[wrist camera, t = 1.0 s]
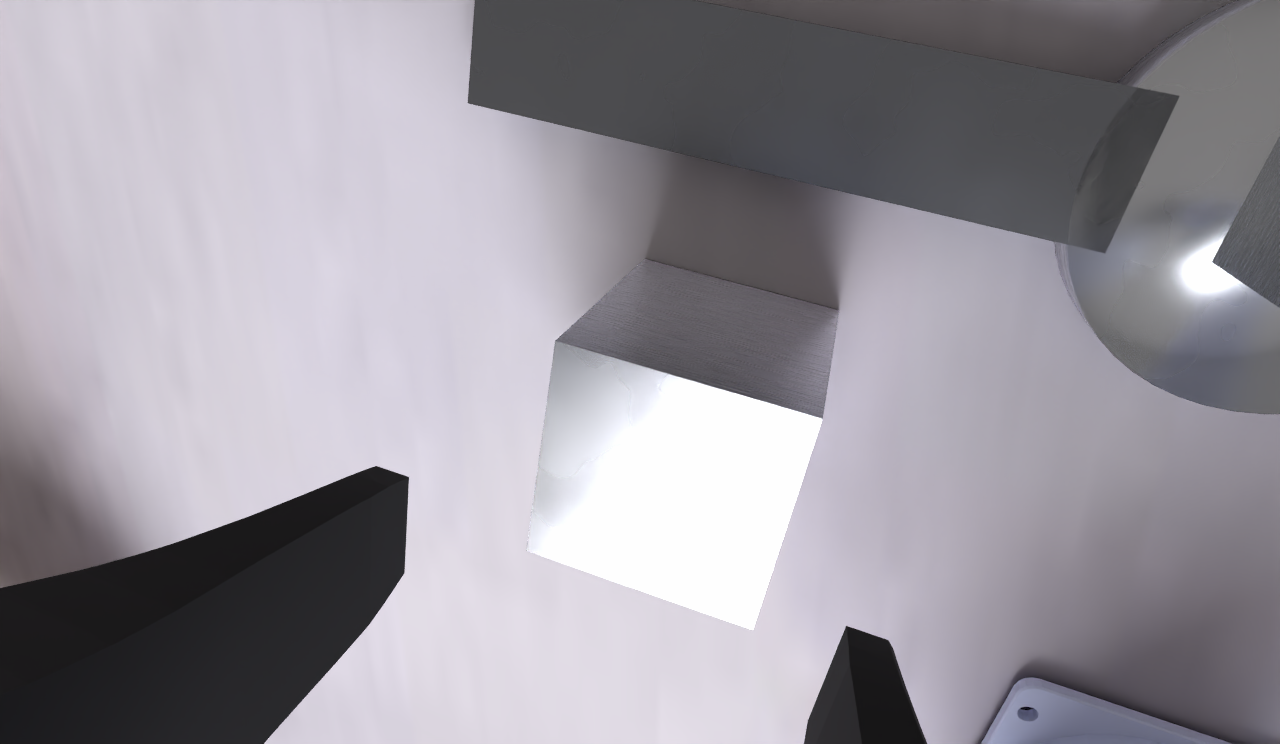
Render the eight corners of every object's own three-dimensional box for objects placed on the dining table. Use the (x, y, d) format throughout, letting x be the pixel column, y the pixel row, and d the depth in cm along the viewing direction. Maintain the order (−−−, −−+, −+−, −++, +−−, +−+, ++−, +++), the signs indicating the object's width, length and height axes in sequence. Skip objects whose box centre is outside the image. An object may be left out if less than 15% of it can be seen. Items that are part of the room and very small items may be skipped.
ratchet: (1380, 428, 16) (1568, 575, 12) (488, 197, 20) (376, 241, 15) (1673, 22, 13) (2103, 12, 8) (519, -166, 16) (386, -241, 12)
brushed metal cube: (785, 478, 20) (752, 629, 15) (613, 425, 21) (526, 550, 16) (839, 310, 18) (822, 418, 13) (644, 259, 19) (554, 341, 14)
